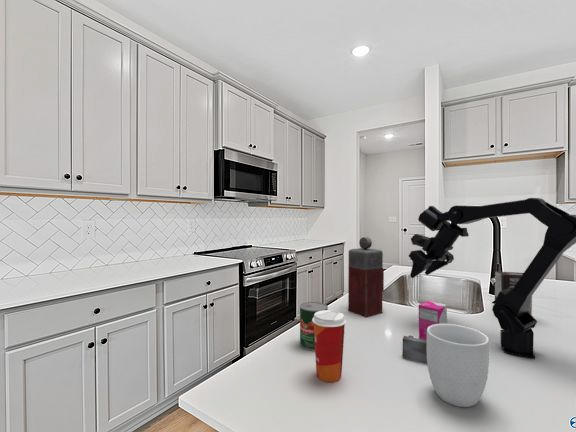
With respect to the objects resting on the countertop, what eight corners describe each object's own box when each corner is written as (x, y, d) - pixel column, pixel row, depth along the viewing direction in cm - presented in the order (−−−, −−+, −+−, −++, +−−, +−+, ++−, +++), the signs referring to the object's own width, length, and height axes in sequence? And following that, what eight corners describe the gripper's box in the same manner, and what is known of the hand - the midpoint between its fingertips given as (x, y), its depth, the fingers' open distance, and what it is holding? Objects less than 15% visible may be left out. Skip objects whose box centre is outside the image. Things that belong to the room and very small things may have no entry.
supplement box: (426, 338, 90) (427, 300, 89) (448, 345, 85) (448, 304, 85) (417, 344, 86) (418, 304, 86) (439, 351, 81) (439, 309, 81)
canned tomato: (329, 340, 88) (329, 302, 88) (325, 352, 81) (325, 311, 80) (303, 337, 90) (303, 300, 90) (296, 349, 83) (296, 308, 83)
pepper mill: (386, 311, 113) (387, 237, 113) (366, 317, 107) (366, 238, 107) (368, 305, 121) (368, 235, 120) (347, 310, 115) (348, 236, 114)
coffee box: (501, 321, 104) (502, 274, 103) (493, 315, 110) (494, 270, 110) (532, 323, 102) (533, 275, 101) (522, 317, 108) (523, 272, 108)
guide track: (456, 354, 80) (457, 335, 80) (455, 370, 72) (456, 349, 72) (408, 343, 86) (408, 326, 86) (402, 357, 78) (402, 338, 78)
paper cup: (323, 363, 75) (323, 307, 74) (352, 374, 70) (352, 314, 70) (305, 377, 69) (305, 315, 68) (334, 389, 64) (334, 323, 64)
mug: (441, 369, 72) (441, 315, 72) (496, 388, 64) (497, 327, 64) (418, 398, 61) (418, 333, 61) (481, 424, 53) (482, 351, 53)
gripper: (438, 224, 109) (415, 258, 116) (408, 225, 98) (385, 262, 105) (465, 244, 101) (439, 278, 108) (437, 247, 90) (410, 285, 97)
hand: (418, 275), depth 105 cm, fingers open, 9 cm apart
